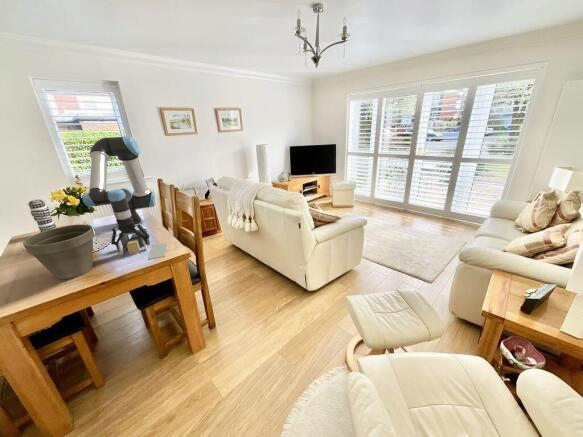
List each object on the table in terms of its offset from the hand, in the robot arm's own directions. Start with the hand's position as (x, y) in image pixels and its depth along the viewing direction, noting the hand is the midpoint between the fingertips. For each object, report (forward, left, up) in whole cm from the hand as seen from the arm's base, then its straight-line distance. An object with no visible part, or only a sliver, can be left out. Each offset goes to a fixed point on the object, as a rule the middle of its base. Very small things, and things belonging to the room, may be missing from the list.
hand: (134, 251), depth 140 cm
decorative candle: (-55, -61, 0) cm, 82 cm away
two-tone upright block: (-5, 0, 0) cm, 5 cm away
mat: (+5, +13, 0) cm, 14 cm away
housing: (-8, 0, 0) cm, 8 cm away
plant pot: (+10, -25, 0) cm, 27 cm away
